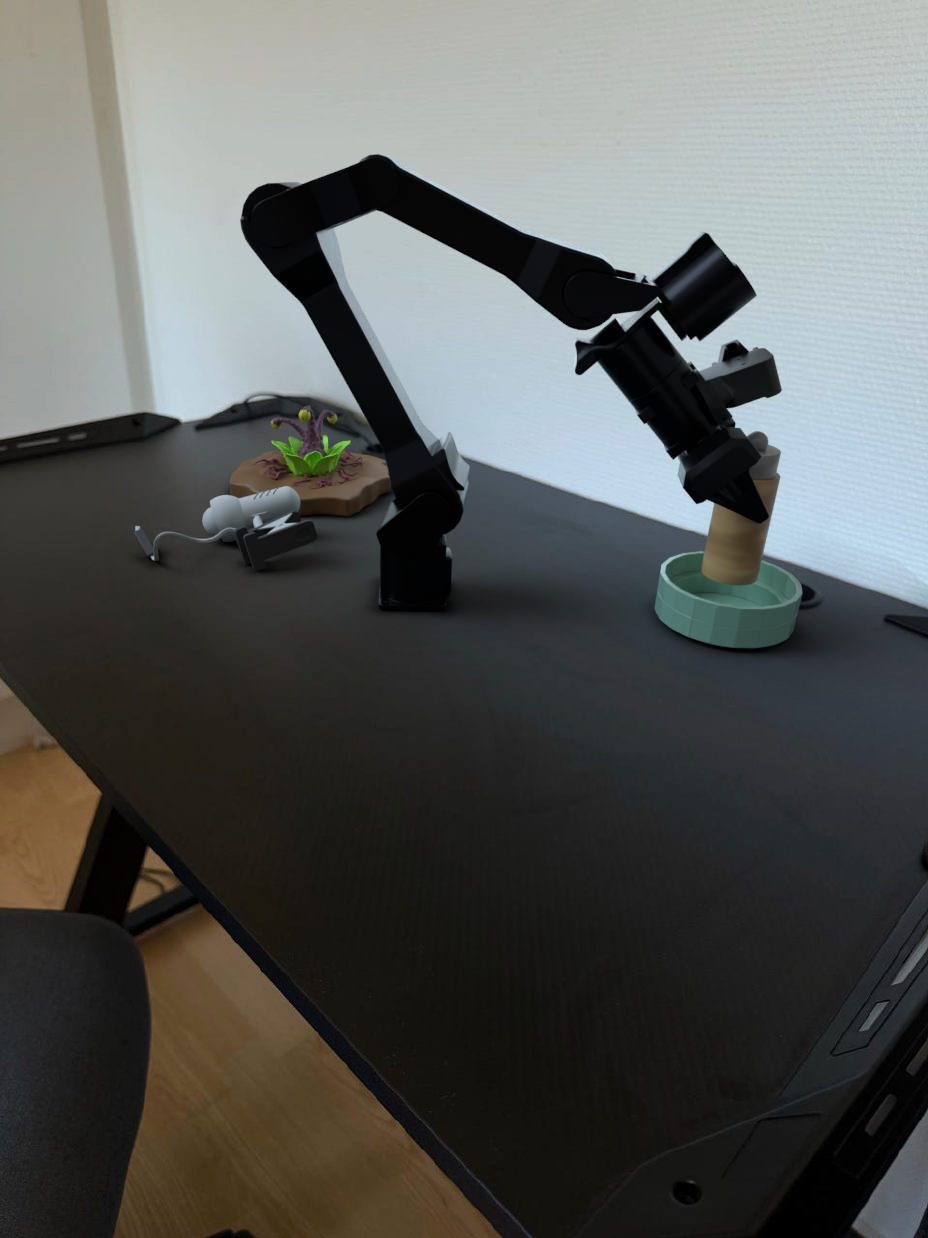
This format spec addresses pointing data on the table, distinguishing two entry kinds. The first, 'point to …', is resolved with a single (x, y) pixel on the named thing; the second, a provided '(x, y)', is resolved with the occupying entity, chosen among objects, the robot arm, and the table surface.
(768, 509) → the pepper mill
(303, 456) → the plant
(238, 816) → the table surface
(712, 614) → the green shallow bowl
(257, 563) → the clip-on lamp
